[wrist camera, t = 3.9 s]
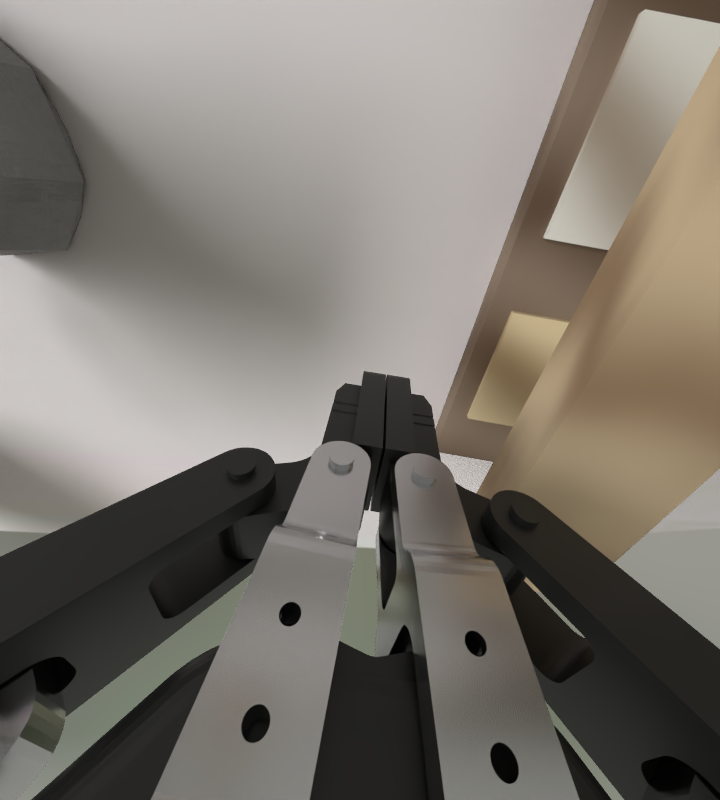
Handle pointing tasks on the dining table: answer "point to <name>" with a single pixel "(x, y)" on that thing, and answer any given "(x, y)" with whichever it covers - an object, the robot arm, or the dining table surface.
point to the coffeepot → (34, 166)
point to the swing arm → (635, 359)
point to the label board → (576, 202)
